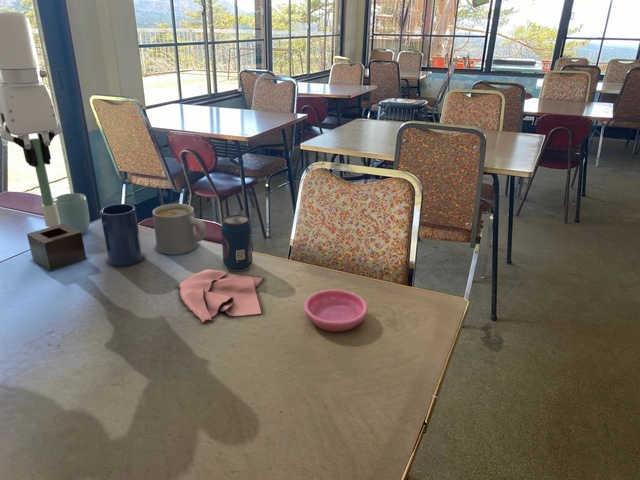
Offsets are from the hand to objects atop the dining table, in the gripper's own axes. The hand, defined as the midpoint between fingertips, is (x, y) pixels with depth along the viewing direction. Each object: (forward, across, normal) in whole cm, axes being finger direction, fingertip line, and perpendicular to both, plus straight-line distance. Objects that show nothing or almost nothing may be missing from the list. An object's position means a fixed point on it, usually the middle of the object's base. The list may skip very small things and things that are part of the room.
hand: (39, 164), depth 107 cm
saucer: (+24, -21, +67) cm, 74 cm away
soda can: (+24, -25, +35) cm, 49 cm away
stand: (+24, 0, 0) cm, 24 cm away
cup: (+24, -11, -13) cm, 29 cm away
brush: (+15, 0, 0) cm, 15 cm away
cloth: (+24, -13, +43) cm, 51 cm away
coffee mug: (+24, -23, +17) cm, 37 cm away
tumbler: (+24, -10, +12) cm, 28 cm away
